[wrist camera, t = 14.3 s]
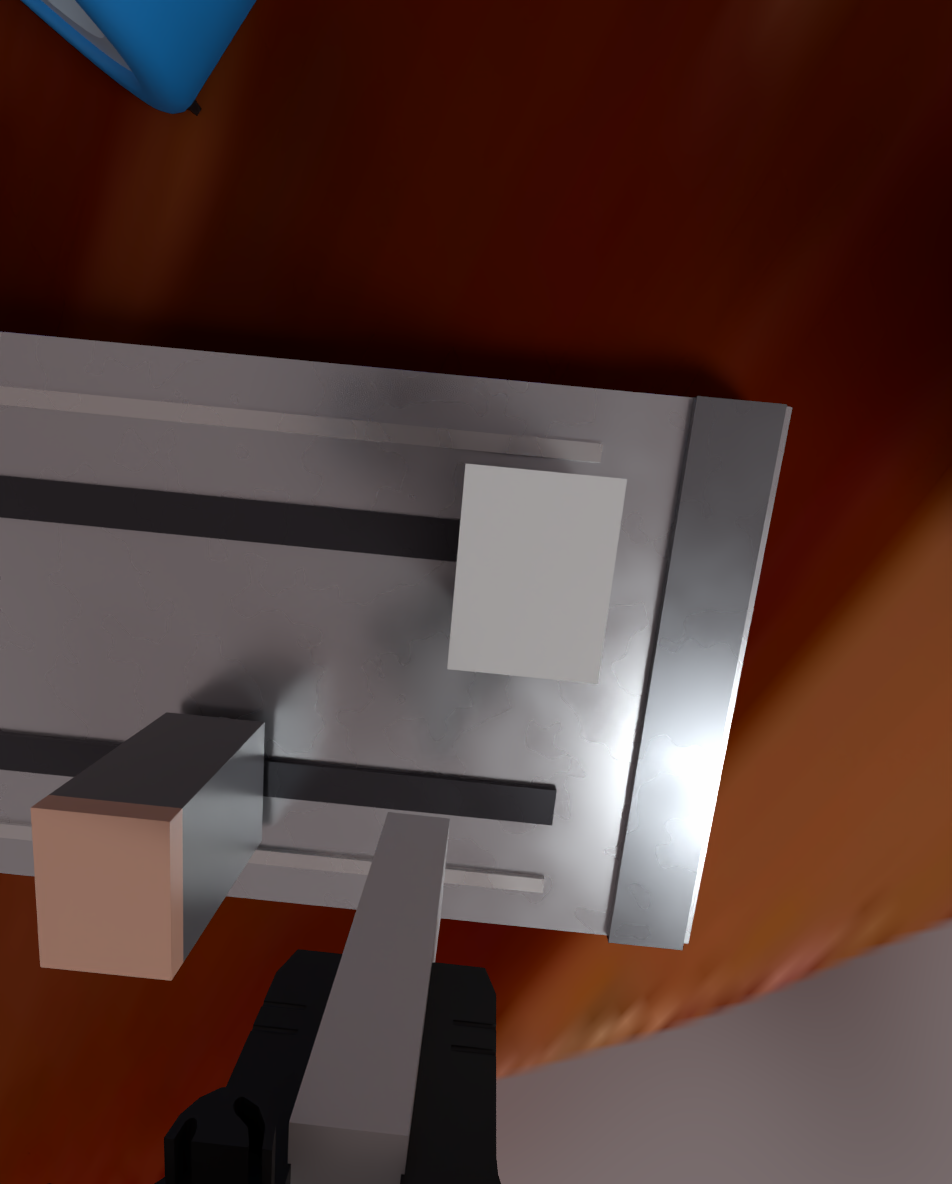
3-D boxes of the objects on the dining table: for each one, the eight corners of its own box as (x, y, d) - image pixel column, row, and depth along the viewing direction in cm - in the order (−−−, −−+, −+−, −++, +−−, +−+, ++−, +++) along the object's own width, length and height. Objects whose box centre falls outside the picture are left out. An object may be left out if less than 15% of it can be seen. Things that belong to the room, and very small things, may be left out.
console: (-78, 336, 17) (-164, 313, 15) (757, 416, 17) (798, 405, 15) (-36, 827, 21) (-101, 869, 18) (669, 899, 20) (691, 950, 18)
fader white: (473, 470, 15) (465, 464, 10) (582, 481, 15) (627, 478, 10) (460, 611, 16) (447, 668, 11) (564, 622, 16) (597, 684, 11)
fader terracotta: (166, 712, 17) (30, 807, 12) (264, 722, 17) (170, 821, 12) (167, 830, 18) (40, 966, 13) (261, 840, 18) (171, 980, 13)
